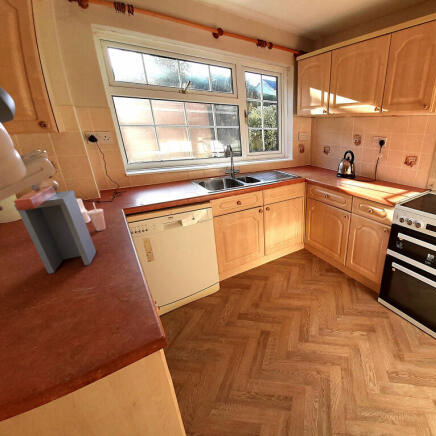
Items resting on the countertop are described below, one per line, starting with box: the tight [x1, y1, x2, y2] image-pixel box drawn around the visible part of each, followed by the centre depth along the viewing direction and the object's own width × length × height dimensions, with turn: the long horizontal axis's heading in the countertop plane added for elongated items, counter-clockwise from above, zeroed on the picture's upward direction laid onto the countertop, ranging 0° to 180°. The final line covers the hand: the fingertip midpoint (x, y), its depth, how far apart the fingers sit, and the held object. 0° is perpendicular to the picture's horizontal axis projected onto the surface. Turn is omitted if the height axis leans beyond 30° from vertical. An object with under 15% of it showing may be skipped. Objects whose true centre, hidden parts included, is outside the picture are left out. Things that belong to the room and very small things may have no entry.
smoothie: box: [87, 201, 107, 232], centre depth 119 cm, size 6×6×14 cm
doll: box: [13, 178, 60, 212], centre depth 79 cm, size 23×5×5 cm, turn 27°
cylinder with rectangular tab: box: [76, 198, 92, 224], centre depth 129 cm, size 9×9×12 cm
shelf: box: [13, 190, 97, 275], centre depth 88 cm, size 12×12×26 cm
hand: (18, 198), depth 67 cm, fingers open, 8 cm apart
